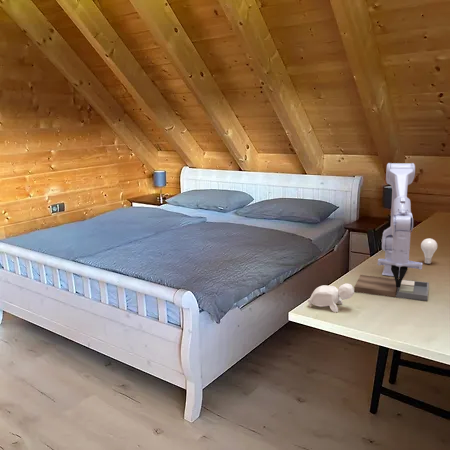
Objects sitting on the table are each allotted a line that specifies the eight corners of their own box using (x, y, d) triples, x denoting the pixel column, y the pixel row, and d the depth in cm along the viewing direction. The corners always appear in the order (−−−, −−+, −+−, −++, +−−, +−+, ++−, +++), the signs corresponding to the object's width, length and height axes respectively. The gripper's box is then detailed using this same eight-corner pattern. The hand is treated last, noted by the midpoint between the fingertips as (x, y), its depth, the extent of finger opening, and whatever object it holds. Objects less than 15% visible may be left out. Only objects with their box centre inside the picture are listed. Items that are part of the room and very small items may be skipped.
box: (399, 284, 177) (399, 279, 177) (428, 287, 173) (428, 282, 173) (395, 297, 165) (396, 291, 165) (427, 301, 161) (427, 295, 161)
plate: (360, 279, 183) (360, 274, 183) (398, 284, 178) (399, 279, 177) (354, 292, 171) (354, 286, 170) (395, 297, 165) (395, 291, 165)
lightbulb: (426, 266, 197) (428, 241, 194) (416, 262, 203) (418, 237, 200) (439, 265, 198) (441, 239, 196) (429, 261, 204) (431, 236, 202)
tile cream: (401, 285, 175) (401, 279, 175) (414, 286, 174) (414, 281, 173) (400, 289, 171) (400, 283, 171) (413, 290, 170) (413, 285, 169)
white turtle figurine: (312, 318, 157) (356, 308, 150) (303, 294, 157) (346, 283, 150) (318, 308, 165) (360, 299, 158) (310, 285, 164) (352, 275, 157)
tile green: (399, 290, 170) (400, 285, 170) (413, 292, 168) (413, 286, 168) (398, 295, 166) (399, 289, 166) (412, 296, 164) (413, 291, 164)
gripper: (377, 250, 164) (375, 287, 167) (422, 254, 158) (419, 292, 161) (379, 245, 170) (378, 281, 174) (423, 248, 165) (420, 286, 168)
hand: (398, 286), depth 168 cm, fingers closed
